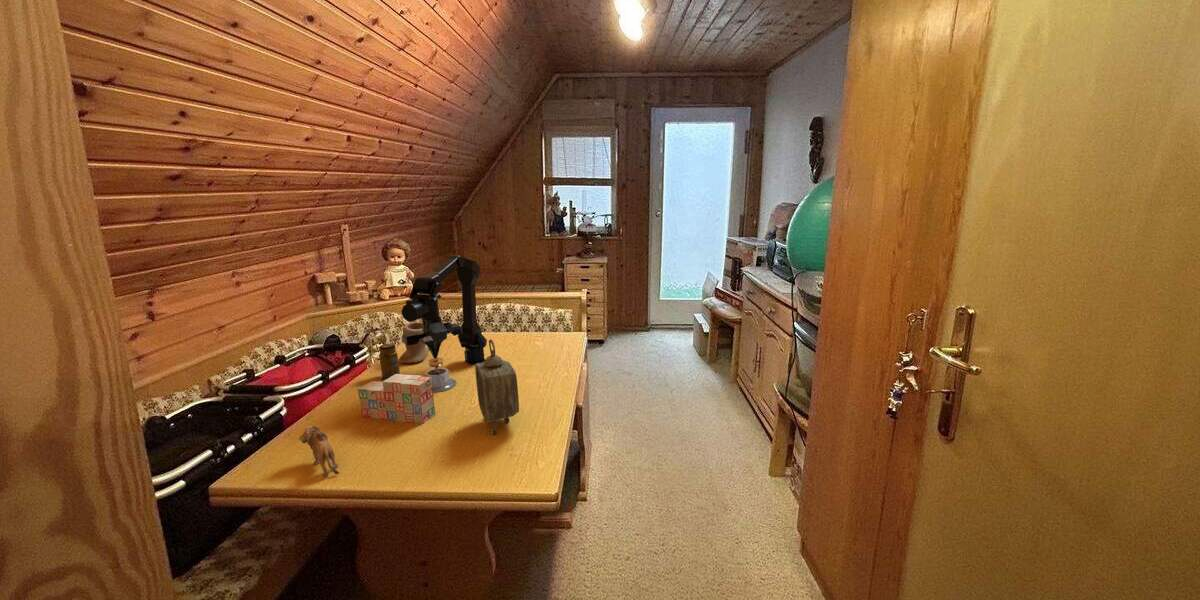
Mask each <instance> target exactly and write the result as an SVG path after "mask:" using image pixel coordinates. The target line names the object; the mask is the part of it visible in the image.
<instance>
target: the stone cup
mask: <svg viewBox="0 0 1200 600" xmlns="http://www.w3.org/2000/svg"><path fill="white" fill-rule="evenodd" d="M422 328H423V326H422V321H421V322H420V321H413V322H408V323H406V324H405V325H404V326H403V330H402V335H403V334H405V333H410V332H415V333H416V334H420V333H423V331H422ZM404 345H405V349H406V350H405V351H404V352H403V353H402V354H401V356H400V357H398V362H399V363H404V364H406V363H407V364H412V363H419V362H422V361H423V360H425V358H426V357H427V356H428V354H429V353H430V350H429V348H428V347H427V345H426V344H424V343H423V342H421V341H420V339H419V342H418V343H417V344H414V345H406V344H404Z"/></svg>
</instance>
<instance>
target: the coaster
mask: <svg viewBox="0 0 1200 600" xmlns="http://www.w3.org/2000/svg"><path fill="white" fill-rule="evenodd" d="M456 386H457V380H456V379H454V378H451V377H450V384H449V385H448V386H446V387H444V388H439V389H433V394H434V393H435V394H437V393H442V392H445V391H446V392H447V391H448V390H451V389H454V387H456Z"/></svg>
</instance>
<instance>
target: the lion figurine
mask: <svg viewBox="0 0 1200 600" xmlns="http://www.w3.org/2000/svg"><path fill="white" fill-rule="evenodd" d="M304 429H305V431H304V432H303V433H302V435H300V436H299V437H298V440H299V441H300V442H302V444H306V443H307V445H308V446H309V448H310V449H311V450H312V454H313V457H314V461H313V463H312V464H313V465H318V464H319V465H320V466H321V469H322V471H323V474H322V476H323V478H326V477H328V476H329V471H328V468H329V469H330V470H331V471H332V472H333V474H335V475H339V474H340V472H339V471H338V470H337V469H334V468H338V467H339V463H337V462H336V459H335V458H336V457H335V452H334V448H333V447H332V445H331V444H330V442H329V441H328V440H329V439H328V435H327V434H326V433H324V431H323V430H322V429H320V428H319V427H318V426H314V425H309V426H307V427H305V428H304ZM325 463H327V466H328V468H327V466H326V464H325Z"/></svg>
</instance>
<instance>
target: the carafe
mask: <svg viewBox="0 0 1200 600" xmlns="http://www.w3.org/2000/svg"><path fill="white" fill-rule="evenodd" d="M423 376H424V377H431V378H432V387H433V389H439V388H444V387H446V386H448V385H449V384H450V378H451V377H450V370H449V369H448V368H446V367H438V375H436V370H435V368H432V369H428V370H427V371H425V373H424V374H423Z"/></svg>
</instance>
